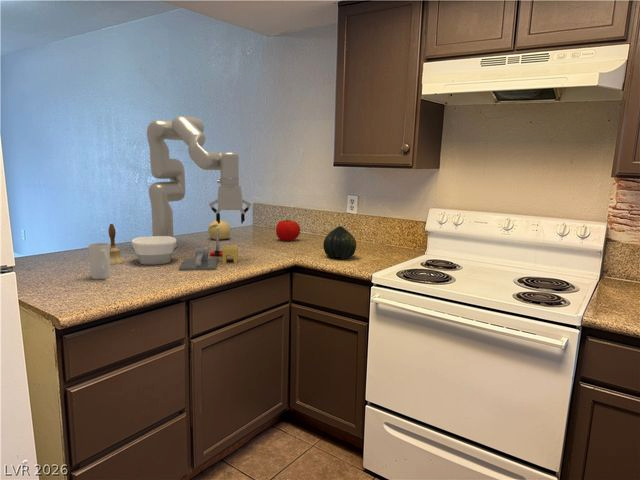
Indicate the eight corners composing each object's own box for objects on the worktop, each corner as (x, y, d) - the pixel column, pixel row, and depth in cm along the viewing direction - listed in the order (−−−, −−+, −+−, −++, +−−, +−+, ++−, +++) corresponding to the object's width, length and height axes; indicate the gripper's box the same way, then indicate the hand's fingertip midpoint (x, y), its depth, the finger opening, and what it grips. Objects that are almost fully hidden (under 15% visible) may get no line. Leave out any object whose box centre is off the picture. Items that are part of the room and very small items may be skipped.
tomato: (278, 238, 253) (278, 217, 251) (301, 239, 252) (302, 218, 250) (273, 241, 241) (273, 220, 239) (297, 243, 240) (298, 221, 238)
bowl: (131, 258, 193) (130, 237, 191) (175, 256, 200) (174, 235, 198) (132, 267, 177) (131, 244, 175) (179, 264, 184) (178, 242, 182)
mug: (87, 276, 162) (85, 244, 160) (107, 273, 167) (105, 242, 165) (97, 282, 155) (95, 248, 153) (117, 279, 160) (115, 246, 158)
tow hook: (215, 252, 211) (207, 255, 202) (215, 225, 210) (208, 227, 201) (232, 254, 210) (225, 257, 201) (233, 226, 209) (226, 228, 199)
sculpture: (209, 237, 250) (209, 218, 248) (231, 237, 251) (231, 218, 249) (206, 240, 238) (206, 220, 237) (229, 241, 240) (229, 221, 238)
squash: (338, 251, 194) (352, 223, 199) (312, 247, 204) (327, 220, 209) (353, 268, 203) (366, 241, 208) (328, 264, 213) (341, 238, 218)
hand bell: (101, 265, 180) (98, 225, 177) (105, 260, 188) (102, 222, 185) (123, 264, 182) (121, 225, 180) (126, 259, 190) (124, 222, 187)
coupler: (178, 270, 175) (178, 257, 174) (185, 260, 192) (185, 248, 191) (215, 270, 177) (215, 257, 176) (218, 259, 195) (218, 248, 194)
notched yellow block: (222, 263, 189) (222, 249, 188) (223, 259, 197) (223, 245, 196) (237, 263, 190) (237, 249, 189) (237, 259, 198) (237, 245, 197)
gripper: (207, 182, 183) (208, 224, 185) (250, 183, 185) (251, 224, 188) (209, 182, 190) (210, 222, 193) (250, 182, 192) (251, 222, 195)
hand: (230, 223), depth 190 cm, fingers open, 9 cm apart
